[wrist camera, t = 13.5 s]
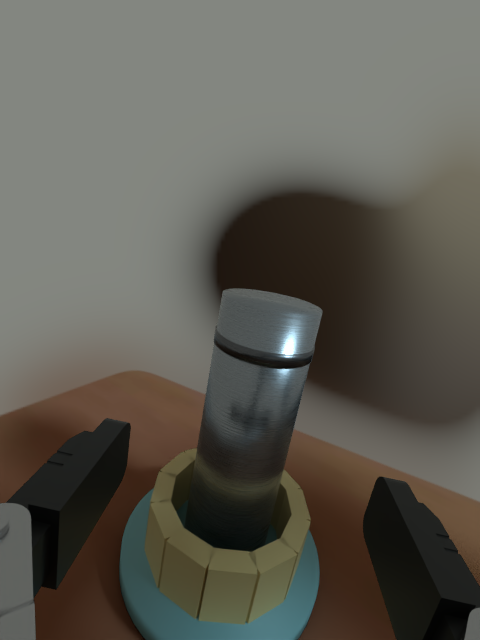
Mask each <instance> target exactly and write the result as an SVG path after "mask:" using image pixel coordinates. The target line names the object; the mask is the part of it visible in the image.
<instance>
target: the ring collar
mask: <svg viewBox="0 0 480 640" xmlns="http://www.w3.org/2000/svg"><path fill="white" fill-rule="evenodd" d="M196 452H197V448H194V449H190V450H186V451H184V452H181V453H180V454H179V455H178V456H177V457H175V458H174V459H173V460H172V461H170V462H169V463H168V464H167V465H166V466H164V467H163V468H162V469H161V470H160V472H158V476H157V480H156V483H155V487H154V488H153V489H152V490H150V491H149V492H148V493H147V494H146V495H145V496H144V497H143V498H142V499H141V501H140V502H139V503H138V505H137V506H136V507H135V509H134V510H133V512H132V514H131V516H130V517H129V520H128V522H127V525H126V527H125V531H124V534H123V538H122V546H121V554H120V564H119V578H120V586H121V592H122V596H123V599H124V602H125V606H126V609H127V611H128V613H129V615H130V617H131V619H132V621H133V623H134V624H135V626H136V627H137V629H138V630H139V632H140V633H141V634H142V636H143V637H144V638H145V639H146V640H298V639H299V637H300V636H301V634H302V632H303V630H304V629H305V627H306V625H307V623H308V620H309V617H310V615H311V612H312V609H313V606H314V603H315V600H316V596H317V591H318V586H319V574H320V570H319V559H318V554H317V549H316V546H315V543H314V540H313V537H312V535H311V533H310V531H309V526H310V523H311V522H310V521H311V518H310V515H309V511H308V508H307V504H306V501H305V497H304V494H303V491H302V489H301V487H300V486H299V485H298V484H297V483H296V482H295V480H294V479H293V478H292V477H291V476H290V475H289V474H288V473H287V472H286V471H285V470H284V469H283V474H282V478H281V482H280V486H279V490H278V494H277V498H276V502H275V506H274V510H273V514H272V518H271V522H270V526H269V530H268V534H267V538H266V542H265V546H263V547H261V548H258V549H256V550H254V551H252V552H248V551H239V550H229V549H220V548H213V547H212V546H210V545H209V544H207V543H206V542H204V541H203V540H201V539H200V538H198V537H197V536H195V535H194V534H192V533H191V532H189V531H188V530H186V529H185V528H184V525H185V519H186V513H187V507H188V500H189V494H190V488H191V482H192V476H193V470H194V464H195V458H196Z"/></svg>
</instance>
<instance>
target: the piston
mask: <svg viewBox="0 0 480 640" xmlns="http://www.w3.org/2000/svg"><path fill="white" fill-rule="evenodd" d="M321 316H322V310H321V309H320V308H319V307H317V306H315V305H313V304H311V303H308V302H306V301H303V300H300V299H297V298H293V297H289V296H285V295H281V294H276V293H271V292H265V291H259V290H251V289H227V290H224V291H223V294H222V300H221V306H220V312H219V319H218V324H217V326H216V330H215V336H214V348H213V354H212V361H211V367H210V373H209V379H208V385H207V392H206V397H205V403H204V409H203V415H202V421H201V427H200V434H199V440H198V446H197V452H196V458H195V464H194V470H193V476H192V482H191V488H190V494H189V500H188V507H187V513H186V519H185V525H184V528H185V529H186V530H188V531H189V532H191V533H192V534H194V535H195V536H197V537H198V538H200V539H201V540H203V541H204V542H206V543H207V544H209V545H210V546H212V547H213V548H220V549H229V550H239V551H248V552H252V551H254V550H256V549H258V548H261V547H263V546H265V542H266V538H267V534H268V530H269V526H270V522H271V518H272V514H273V510H274V506H275V502H276V498H277V494H278V490H279V486H280V482H281V478H282V474H283V469H284V465H285V461H286V457H287V453H288V449H289V445H290V441H291V437H292V433H293V429H294V425H295V421H296V416H297V413H298V409H299V404H300V400H301V396H302V392H303V388H304V384H305V380H306V376H307V372H308V368H309V364H310V362H311V360H312V356H313V353H314V349H315V346H314V344H315V339H316V336H317V331H318V328H319V324H320V320H321Z"/></svg>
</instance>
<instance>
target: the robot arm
mask: <svg viewBox="0 0 480 640" xmlns="http://www.w3.org/2000/svg"><path fill="white" fill-rule="evenodd" d="M130 429H131V426H130V423H127V422H122V421H117V420H113V419H108V418H107V419H105V420H104V421H103V422H102V423H101V424H100V425H99V426H98V427H97V428H96V430H95V431H94V432H88V431H84V432H82V433H80V434H78V435H76V436H74V437H72V438H70V439H69V440H68V441H67V442H66V443H65V444H64V445H63V446H62V447H61V448H60V449H59V450H58V451H57V453H55V454H54V455H53V456H52V457H51V458H50V459H49V460H48V461H47V463H45V464H44V465H43V466H42V467H41V468H40V469H39V470H38V471H37V472H36V473H35V474H34V475H33V476H32V477H31V478H30V479H29V480H28V481H27V482H26V483H25V484H24V485H23V486H22V487H21V488H20V489H19V490H18V491H17V492H16V493H15V494H14V495H13V496H12V497H11V498H10V499H9V500H8V501H7V502H6V503H1V504H0V640H36V633H35V605H34V600H33V598H34V597H35V595H36V594H37V592H38V591H39V589H40V588H41V586H42V587H46V588H51V589H55V590H56V589H57V588H58V586H59V584H60V583H61V581H62V579H63V578H64V576H65V574H66V573H67V571H68V569H69V568H70V566H71V565H72V563H73V561H74V560H75V558H76V556H77V555H78V553H79V551H80V550H81V548H82V546H83V545H84V543H85V541H86V540H87V538H88V536H89V535H90V533H91V531H92V530H93V528H94V526H95V525H96V523H97V521H98V520H99V518H100V516H101V515H102V513H103V511H104V510H105V508H106V506H107V505H108V503H109V502H110V500H111V498H112V497H113V495H114V493H115V492H116V490H117V488H118V487H119V485H120V483H121V481H122V479H123V476H124V473H125V470H126V466H127V458H128V449H129V439H130ZM363 533H364V538H365V542H366V545H367V548H368V551H369V554H370V557H371V561H372V564H373V567H374V570H375V573H376V576H377V580H378V583H379V586H380V589H381V592H382V595H383V598H384V602H385V605H386V608H387V611H388V614H389V617H390V621H391V624H392V627H393V630H394V633H395V636H396V639H397V640H480V586H479V585H478V583H477V582H476V580H475V578H474V577H473V575H472V573H471V572H470V570H469V568H468V567H467V565H466V563H465V562H464V560H463V558H462V557H461V555H460V554H458V550H457V548H456V547H455V545H454V543H453V542H452V540H450V539H449V535H448V533H447V532H446V530H445V528H444V527H443V525H442V523H441V522H440V520H439V519H438V518H437V517H436V516H435V515H434V514H433V513H432V512H431V511H430V510H429V509H428V508H427V507H426V506H425V505H424V504H423V503H419V502H418V501H417V499H416V498H415V496H414V494H413V492H412V490H411V489H410V487H409V485H408V484H407V483H406V482H404V481H399V480H395V479H390V478H385V477H379V478H378V479H377V480H376V482H375V485H374V488H373V491H372V494H371V497H370V500H369V503H368V506H367V509H366V512H365V515H364V520H363Z"/></svg>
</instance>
